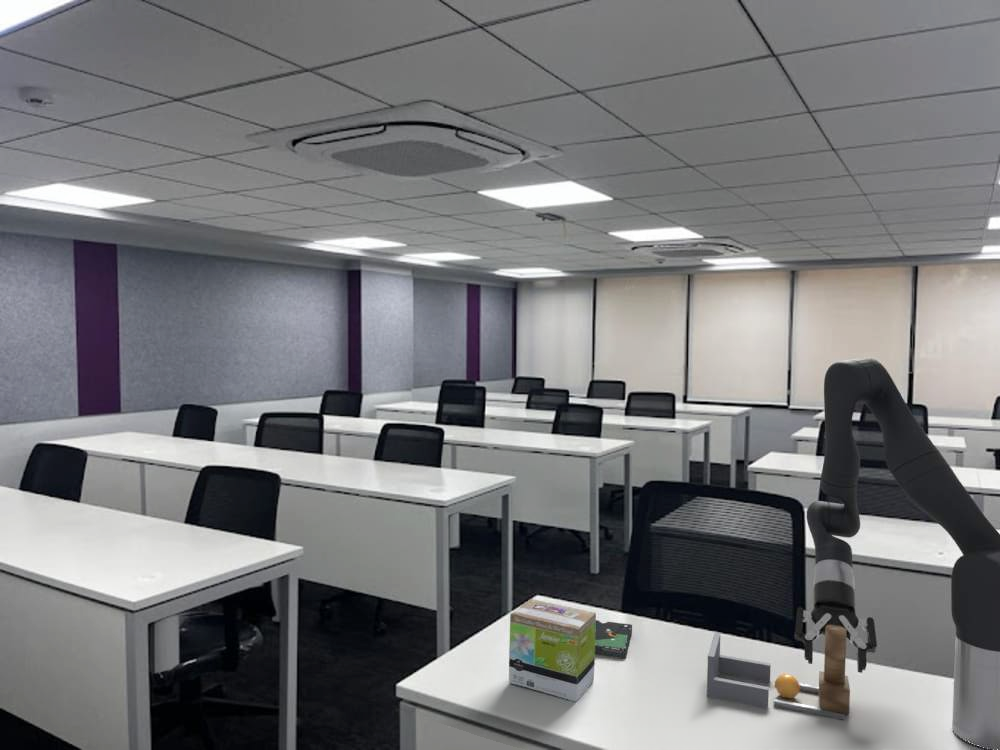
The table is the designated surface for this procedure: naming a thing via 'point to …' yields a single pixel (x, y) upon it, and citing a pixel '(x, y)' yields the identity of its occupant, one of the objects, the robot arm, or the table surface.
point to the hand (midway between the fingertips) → (835, 666)
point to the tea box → (552, 649)
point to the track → (806, 707)
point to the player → (834, 672)
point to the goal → (740, 669)
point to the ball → (787, 686)
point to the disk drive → (612, 639)
